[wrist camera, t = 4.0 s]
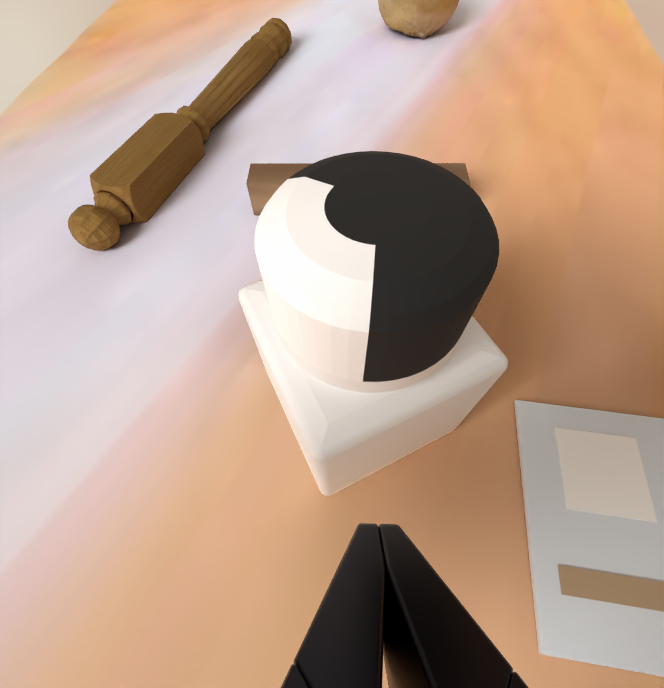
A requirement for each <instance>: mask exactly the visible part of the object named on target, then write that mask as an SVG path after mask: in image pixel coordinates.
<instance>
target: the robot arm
mask: <svg viewBox="0 0 664 688" xmlns="http://www.w3.org/2000/svg"><path fill="white" fill-rule="evenodd" d="M383 654H384V661H385V667H386V673H387V679H388V685H389V688H528V686H527V685H526V684H525V683H524V681H523V680H522V679H521V678H520V676H519V675H518V674H517V673H516V672H513V668H512V667H511V665H510V664H509V663H508V662H507V660H506V659H505V658H504V657H503V655H502V654H501V653H500V652H499V650H498V649H497V648H496V646H495V645H494V644H493V643H492V641H491V640H490V639H489V638H488V636H487V635H486V634H485V633H484V631H483V630H482V629H481V628H480V626H479V625H478V624H477V623H476V621H475V620H474V619H473V618H472V616H471V615H470V614H469V613H468V611H467V610H466V609H465V608H464V606H463V605H462V604H461V603H460V601H459V600H458V599H457V598H456V596H455V595H454V594H453V593H452V591H451V590H450V589H449V588H448V586H447V585H446V584H445V583H444V581H443V580H442V579H441V578H440V576H439V575H438V574H437V573H436V571H435V570H434V569H433V568H432V566H431V565H430V564H429V563H428V561H427V560H426V559H425V558H424V556H423V555H422V554H421V553H420V551H419V550H418V549H417V548H416V546H415V545H414V544H413V543H412V541H411V540H410V539H409V538H408V536H407V535H406V534H405V533H404V531H403V530H402V529H401V528H400V526H398V525H396V524H380V525H379V527H378V526H377V525H376V524H364V523H361V524H359V525H358V526H357V528H356V530H355V532H354V534H353V537H352V539H351V541H350V543H349V545H348V547H347V549H346V551H345V553H344V556H343V558H342V560H341V562H340V564H339V566H338V568H337V570H336V572H335V575H334V577H333V579H332V581H331V583H330V585H329V587H328V589H327V592H326V594H325V596H324V598H323V600H322V602H321V604H320V606H319V608H318V611H317V613H316V615H315V617H314V619H313V621H312V623H311V625H310V628H309V630H308V632H307V634H306V636H305V638H304V640H303V642H302V644H301V647H300V649H299V651H298V653H297V655H296V657H295V659H294V664H293V665H291V667H290V669H289V671H288V673H287V676H286V678H285V680H284V682H283V684H282V686H281V688H382V669H383Z"/></svg>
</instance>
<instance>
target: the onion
mask: <svg viewBox="0 0 664 688" xmlns="http://www.w3.org/2000/svg"><path fill="white" fill-rule="evenodd" d="M458 2H459V0H378V4H379V10H380V13H381V16H382V18H383V20H384V22H385V24H386V25H387V26H389V27H390V29H393V30H398V31H399V32H400V31H401V32H403V33H404V34H405V35H406V34H407V36H408V35H410V36H412V37H414V36H415V37H416V36H417V37H421V38H422V39H423V38H426V37H427V36H430V35H431V34H434V33H435V32H436V31H437V30H439V29H440V28H441V27H442V26H443V25H444V24H445V23H446V22H447V21H448V20H449V19H450V18H451V16H452V15H453V13H454V11H455V9H456V7H457V5H458Z"/></svg>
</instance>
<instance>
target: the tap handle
mask: <svg viewBox="0 0 664 688" xmlns="http://www.w3.org/2000/svg"><path fill="white" fill-rule="evenodd" d="M291 42H292V41H291V32H290V30H289V28H288V26H287V24H286V23H284V22H283V21H282V20H281V19H278V18H272V19H270V20H269V21H267V22H266V24H265V25H263V26H262V27H261V28H260V31H259V32H257V33H256V34H254V35H253V36H252V37H251V39H250V40H248V41H247V42H246V43H245V44H244V45H243V46H242V47H241V48H240V49H239V51H238V52H237V53H236V54H235V55H234V56H233V57H232V58H231V60H230V61H229V62H228V63H227V64H226V65H225V66H224V67H223V69H222V70H221V71H220V72H219V73H218V74H217V75H216V76H215V78H214V79H213V80H212V81H211V82H210V83H209V84H208V85H207V87H206V88H205V89H204V90H203V91H202V92H201V93H200V94H199V96H198V97H197V98H196V99H195V100H194V101H193V102H192V103H191V105H190V106H189V107H188V106H183V107H181V108H180V109H178V111H177V114H175V113H159V114H155V115H154V116H153V117H151V118H150V119H149V120H148V121H147V122H146V123H145V124H144V125H143V126H142V127H141V128H140V129H139V130H138V131H137V132H135V133H134V134H133V135H132V136H131V137H130V138H129V139H128V140H127V141H126V142H125V143H124V144H123V145H122V146H121V147H119V148H118V149H117V150H116V151H115V152H114V153H113V154H112V155H111V156H110V157H109V158H108V159H107V160H106V161H105V162H103V163H102V164H101V165H100V166H99V167H98V168H97V169H96V170H95V171H94V172H93V173H92V174H91V175H90V180H91V186H92V190H93V193H94V195H95V196H94V201H95V206H94V205H82V206H80V207H78V208H77V209H76V210H75V211H74V212H73V213H72V214H71V216H70V217H69V220H68V227H69V230H70V232H71V234H72V236H73V237H74V238H75V240H77V241H78V242H79V243H80V244H81V245H83V246H85V247H86V248H89V249H93V250H97V251H102V250H106V249H108V248H110V247H111V246H113V245H114V244H116V243H117V241H118V240H119V238H120V228H119V225H127V224H128V223H130V222H133V223H144V222H147V221H148V220H149V219H150V218H151V217H152V216H153V214H154V213H155V212H156V211H157V210H158V209H159V207H160V206H161V205H162V204H163V203H164V202H165V200H166V199H167V198H168V197H169V196H170V195H171V193H172V192H173V191H174V190H175V189H176V188H177V186H178V185H179V184H180V183H181V182H182V181H183V179H184V178H185V177H186V176H187V175H188V174H189V172H190V171H191V170H192V169H193V168H194V167H195V166H196V164H197V163H198V162H199V161H200V160H201V159H202V157H203V156H204V155H205V153H204V144H203V142H204V141H206V140H208V139H209V135H210V129H211V128H212V127H213V126H215V125H216V124H217V123H218V122H219V121H220V120H221V119H222V118H223V117H224V116H225V115H226V114H227V113H228V112H229V111H230V110H231V109H232V108H233V107H234V106H235V105H236V104H237V103H238V102H239V101H240V100H241V99H242V98H243V97H244V96H245V95H246V94H247V93H248V92H249V91H250V90H251V89H252V88H253V87H254V86H255V85H256V84H257V83H258V82H259V81H260V80H261V79H262V78H263V77H264V76H265V75H266V74H267V73H268V72H269V71H270V70H271V67H273V66H274V65H276V62H277V59H278V58H281V57H283V56H284V55H285V52H286V51H288V50H289V48H290V45H291ZM121 200H123V201H124V202H125V203H126V204H127V205H128V206H129V208H130V209H131V211H132V213H133V214H134V216H133V220H132V219H131V218H132V216H131V212H130V210H129V208H128V207H127V206H126V205H125V204H124V203H123V201H121Z"/></svg>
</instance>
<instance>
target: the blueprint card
mask: <svg viewBox="0 0 664 688" xmlns="http://www.w3.org/2000/svg"><path fill="white" fill-rule="evenodd" d="M514 406H515V416H516V427H517V437H518V447H519V457H520V467H521V478H522V488H523V498H524V508H525V518H526V529H527V539H528V549H529V559H530V569H531V580H532V590H533V600H534V610H535V620H536V631H537V641H538V651H539V654H542V655H548V656H553V657H558V658H564V659H569V660H575V661H580V662H586V663H591V664H596V665H602V666H607V667H613V668H618V669H624V670H629V671H634V672H640V673H645V674H651V675H656V676H662V677H664V419H663V418H655V417H647V416H639V415H631V414H623V413H615V412H608V411H600V410H592V409H584V408H576V407H568V406H560V405H552V404H545V403H537V402H529V401H521V400H515V401H514Z"/></svg>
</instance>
